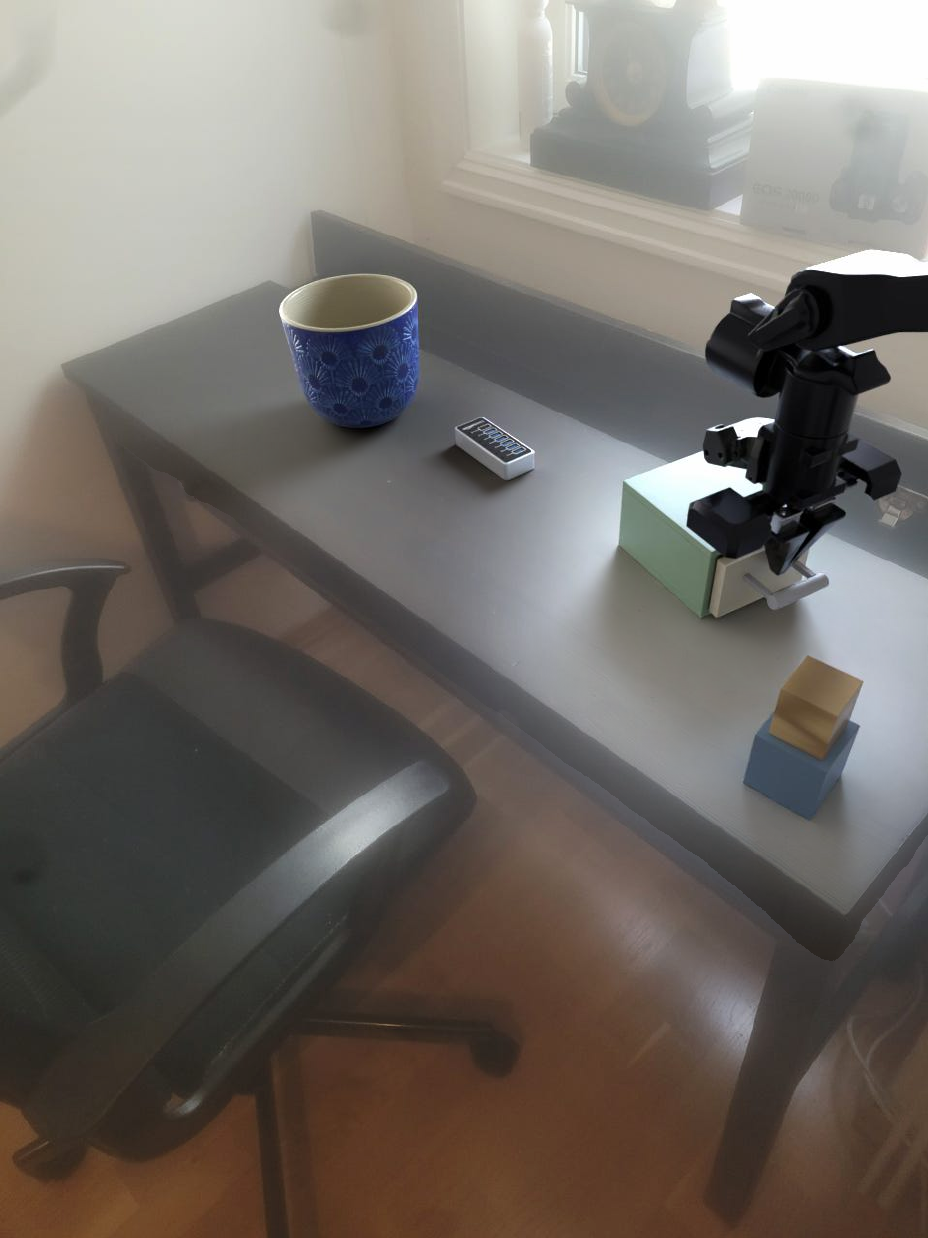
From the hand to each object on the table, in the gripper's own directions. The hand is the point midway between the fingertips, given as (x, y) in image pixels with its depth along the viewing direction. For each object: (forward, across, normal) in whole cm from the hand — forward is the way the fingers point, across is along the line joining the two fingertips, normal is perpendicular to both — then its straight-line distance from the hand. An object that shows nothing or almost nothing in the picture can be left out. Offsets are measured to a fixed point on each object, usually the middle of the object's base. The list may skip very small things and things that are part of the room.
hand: (776, 571), depth 79 cm
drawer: (+4, 0, -5) cm, 7 cm away
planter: (+5, +18, -58) cm, 61 cm away
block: (-1, +12, +16) cm, 19 cm away
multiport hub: (+5, +8, -39) cm, 40 cm away
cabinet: (+5, 0, -10) cm, 11 cm away
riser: (+5, +12, +16) cm, 20 cm away
